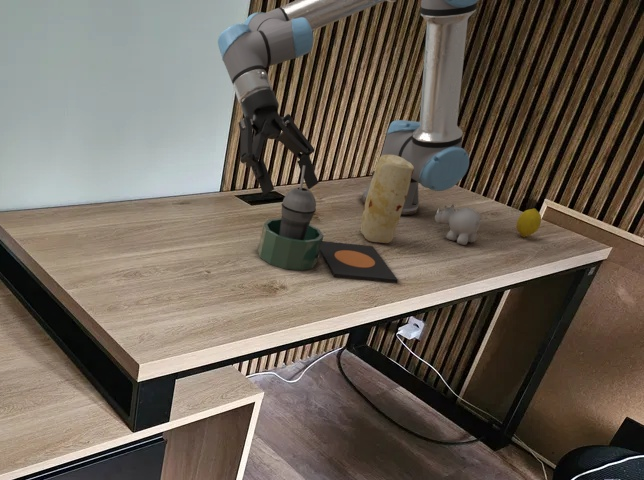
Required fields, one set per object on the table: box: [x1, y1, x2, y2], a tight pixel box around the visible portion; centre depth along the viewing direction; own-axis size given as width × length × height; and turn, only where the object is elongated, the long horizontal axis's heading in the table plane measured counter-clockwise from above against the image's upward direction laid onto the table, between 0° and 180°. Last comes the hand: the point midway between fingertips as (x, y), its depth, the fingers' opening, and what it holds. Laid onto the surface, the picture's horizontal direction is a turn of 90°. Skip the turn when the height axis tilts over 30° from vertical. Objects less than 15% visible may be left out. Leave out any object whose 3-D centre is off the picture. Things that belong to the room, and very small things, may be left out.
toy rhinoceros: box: [434, 204, 482, 246], centre depth 174 cm, size 7×12×8 cm, turn 35°
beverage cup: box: [279, 166, 317, 240], centre depth 145 cm, size 7×7×20 cm
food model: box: [360, 155, 414, 244], centre depth 163 cm, size 10×7×20 cm
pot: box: [257, 217, 325, 271], centre depth 149 cm, size 13×13×6 cm
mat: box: [319, 240, 399, 284], centre depth 153 cm, size 18×14×1 cm
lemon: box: [515, 208, 542, 238], centre depth 182 cm, size 6×6×8 cm
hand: (291, 189), depth 145 cm, fingers open, 13 cm apart
